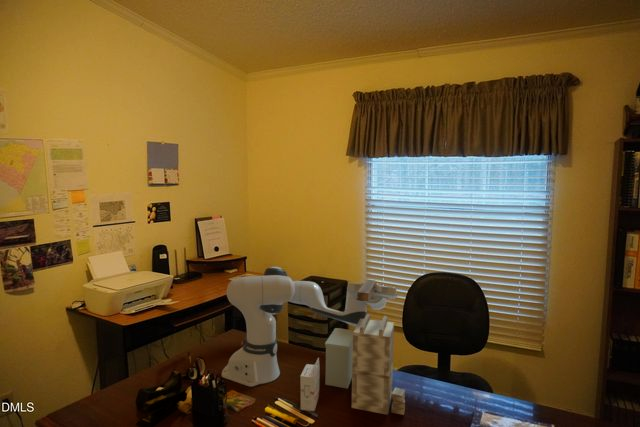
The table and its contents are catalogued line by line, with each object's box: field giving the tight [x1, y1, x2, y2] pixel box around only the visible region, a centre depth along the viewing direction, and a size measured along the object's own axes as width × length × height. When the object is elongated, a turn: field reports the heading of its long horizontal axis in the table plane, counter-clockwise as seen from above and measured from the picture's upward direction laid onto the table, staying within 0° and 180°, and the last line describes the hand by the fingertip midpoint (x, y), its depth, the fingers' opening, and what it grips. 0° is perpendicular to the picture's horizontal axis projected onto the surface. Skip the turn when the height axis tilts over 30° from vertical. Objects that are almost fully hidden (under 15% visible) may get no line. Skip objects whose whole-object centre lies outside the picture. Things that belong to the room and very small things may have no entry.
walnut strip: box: [357, 279, 377, 301], centre depth 141 cm, size 4×18×3 cm, turn 162°
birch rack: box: [351, 313, 395, 416], centre depth 125 cm, size 12×13×28 cm
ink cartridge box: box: [299, 357, 321, 412], centre depth 123 cm, size 9×5×15 cm, turn 168°
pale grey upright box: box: [324, 327, 355, 389], centre depth 140 cm, size 9×15×16 cm, turn 163°
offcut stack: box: [391, 387, 406, 416], centre depth 120 cm, size 4×5×6 cm
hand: (369, 285), depth 145 cm, fingers closed on walnut strip, 4 cm apart
